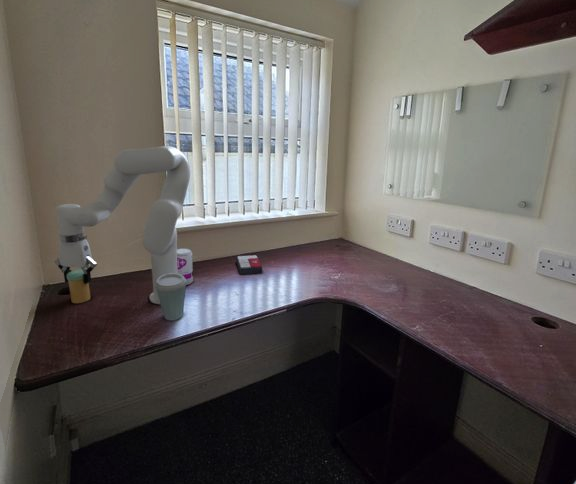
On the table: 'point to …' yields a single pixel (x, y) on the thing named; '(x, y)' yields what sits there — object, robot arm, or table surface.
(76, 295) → the jam jar
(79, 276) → the lid
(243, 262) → the black product box
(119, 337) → the table surface
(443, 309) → the table surface
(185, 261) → the supplement can
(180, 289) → the disposable coffee cup
